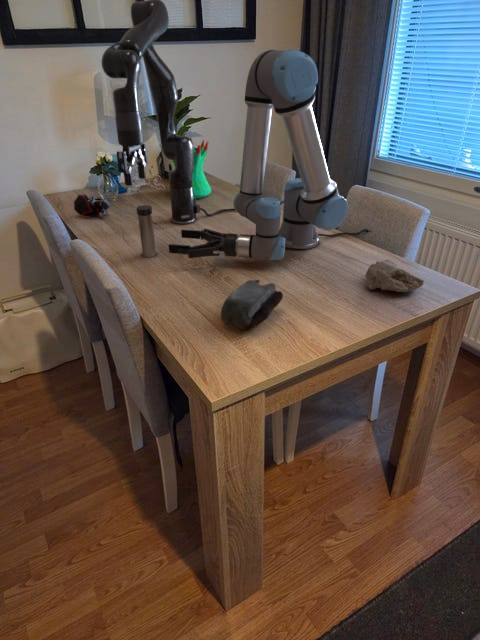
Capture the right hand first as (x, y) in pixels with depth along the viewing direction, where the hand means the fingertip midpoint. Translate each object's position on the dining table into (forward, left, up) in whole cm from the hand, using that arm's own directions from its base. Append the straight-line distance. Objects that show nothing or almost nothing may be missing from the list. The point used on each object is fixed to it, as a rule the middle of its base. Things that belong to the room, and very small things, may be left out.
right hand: (175, 240), depth 149 cm
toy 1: (+31, -52, -6) cm, 60 cm away
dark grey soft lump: (-16, +43, -6) cm, 47 cm away
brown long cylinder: (+9, -5, -6) cm, 12 cm away
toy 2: (-14, -74, -6) cm, 76 cm away
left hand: (+11, -6, +19) cm, 22 cm away
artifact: (-61, +34, -6) cm, 70 cm away
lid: (+9, -5, +10) cm, 14 cm away
